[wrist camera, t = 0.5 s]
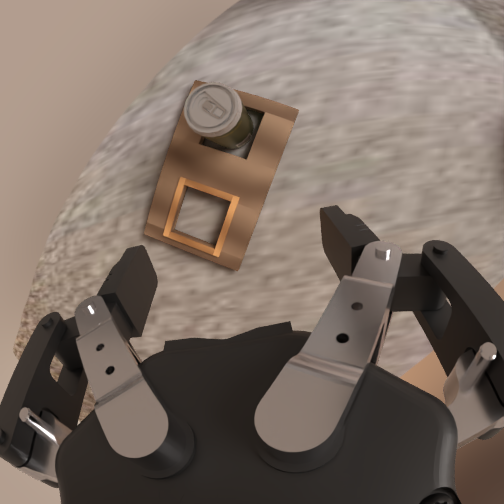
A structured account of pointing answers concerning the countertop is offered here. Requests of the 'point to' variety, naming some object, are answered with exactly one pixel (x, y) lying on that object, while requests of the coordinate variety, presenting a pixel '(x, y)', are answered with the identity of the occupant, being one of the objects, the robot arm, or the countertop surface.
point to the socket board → (220, 181)
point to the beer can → (218, 115)
